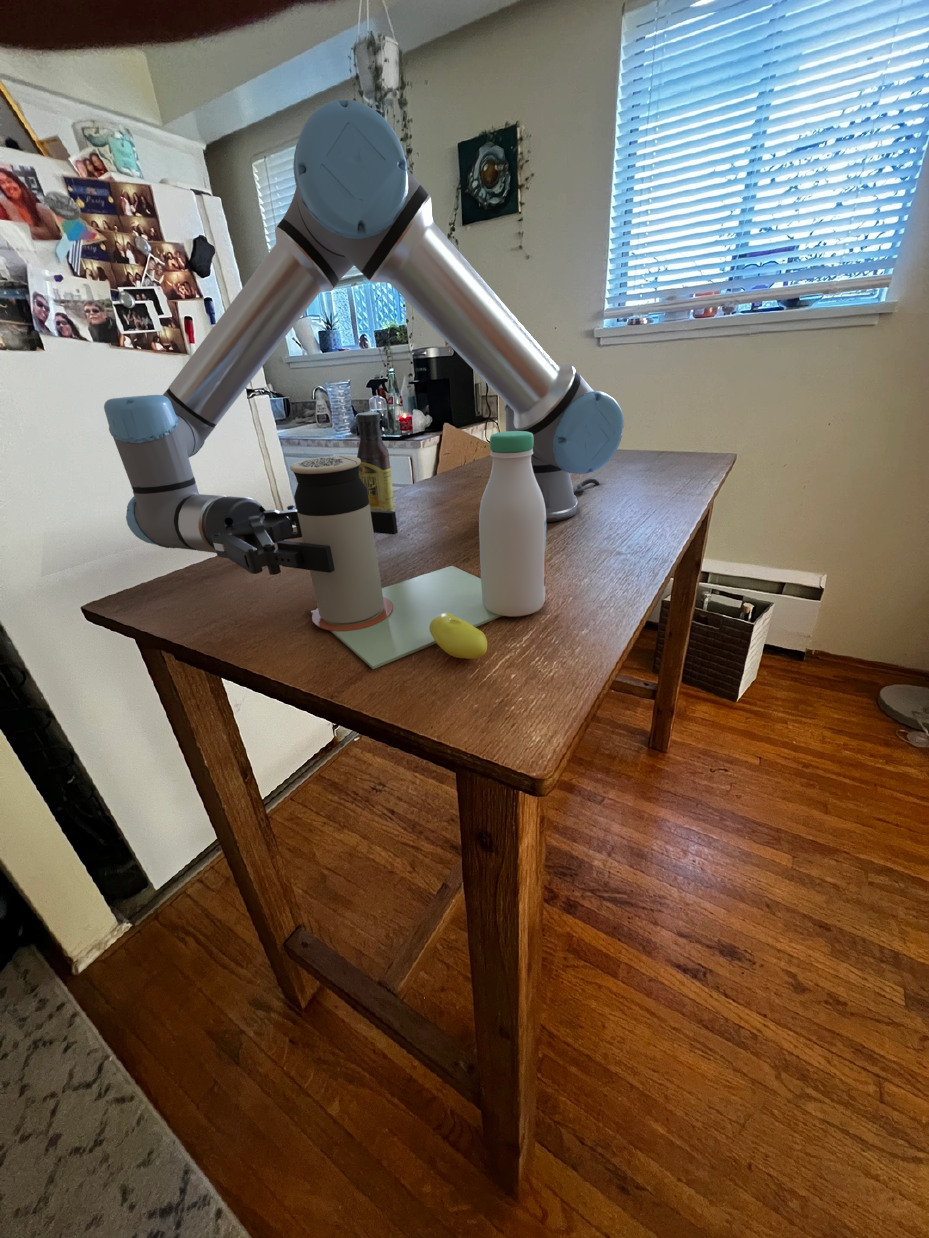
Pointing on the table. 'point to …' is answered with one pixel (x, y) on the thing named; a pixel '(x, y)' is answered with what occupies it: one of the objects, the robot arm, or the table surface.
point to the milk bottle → (512, 529)
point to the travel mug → (339, 536)
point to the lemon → (458, 637)
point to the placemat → (411, 615)
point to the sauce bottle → (374, 463)
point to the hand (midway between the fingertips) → (365, 539)
